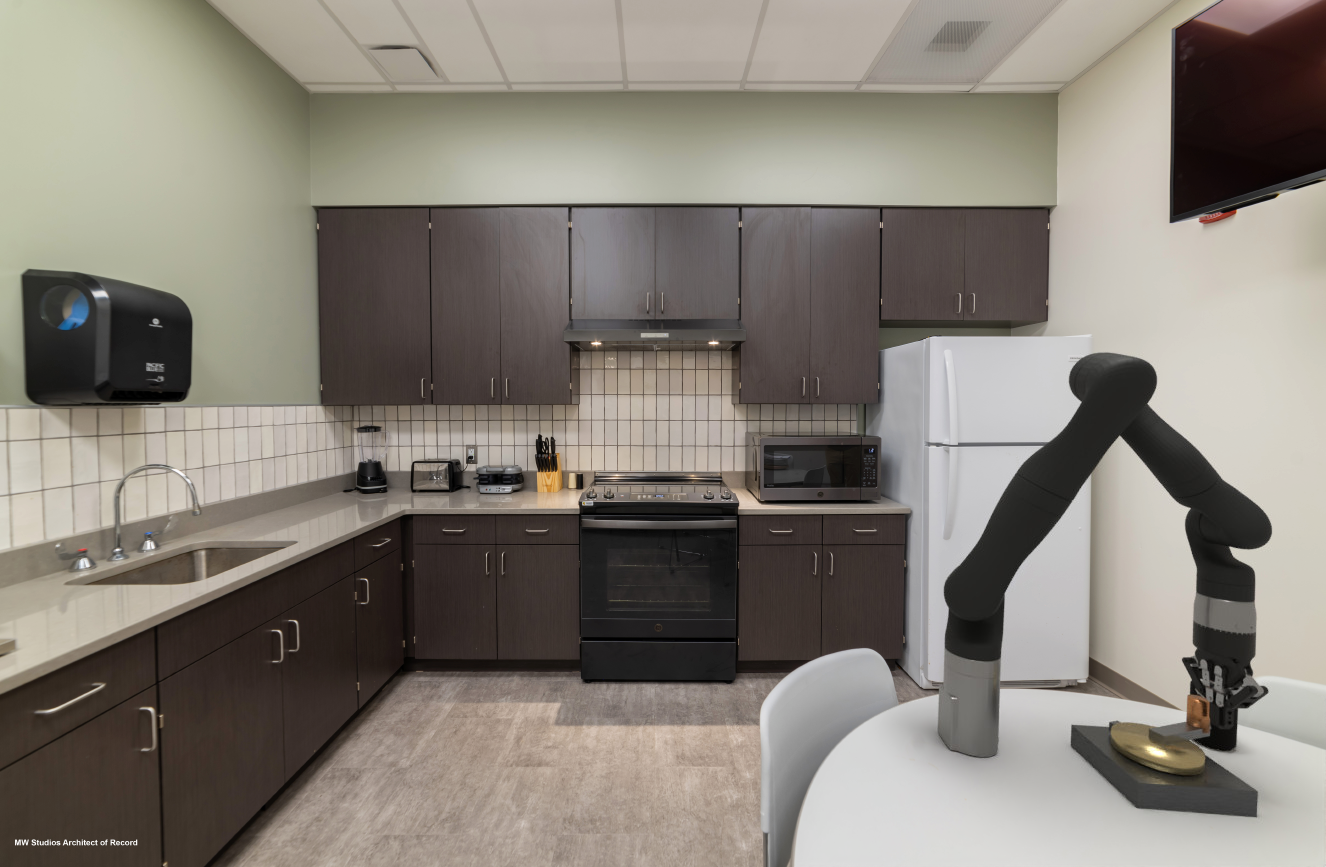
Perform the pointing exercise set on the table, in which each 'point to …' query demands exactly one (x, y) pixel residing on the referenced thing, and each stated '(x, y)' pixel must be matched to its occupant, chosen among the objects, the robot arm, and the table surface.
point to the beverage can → (1218, 730)
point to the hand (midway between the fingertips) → (1220, 726)
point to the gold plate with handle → (1166, 740)
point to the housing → (1164, 780)
